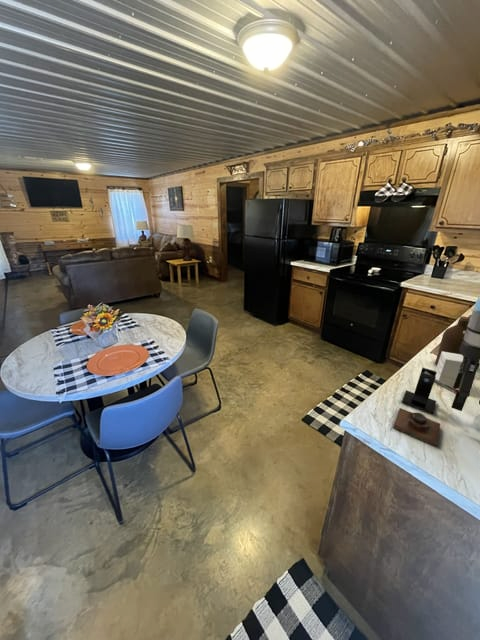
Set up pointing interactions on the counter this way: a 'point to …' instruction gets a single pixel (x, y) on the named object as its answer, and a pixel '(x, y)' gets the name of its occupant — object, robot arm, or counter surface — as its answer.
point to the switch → (443, 384)
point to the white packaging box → (448, 368)
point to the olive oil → (453, 338)
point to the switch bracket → (422, 393)
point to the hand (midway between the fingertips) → (457, 398)
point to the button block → (417, 427)
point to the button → (419, 418)
